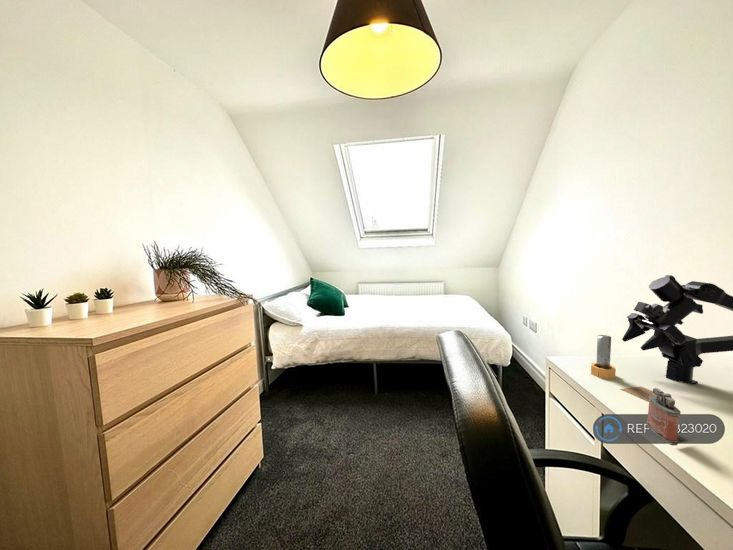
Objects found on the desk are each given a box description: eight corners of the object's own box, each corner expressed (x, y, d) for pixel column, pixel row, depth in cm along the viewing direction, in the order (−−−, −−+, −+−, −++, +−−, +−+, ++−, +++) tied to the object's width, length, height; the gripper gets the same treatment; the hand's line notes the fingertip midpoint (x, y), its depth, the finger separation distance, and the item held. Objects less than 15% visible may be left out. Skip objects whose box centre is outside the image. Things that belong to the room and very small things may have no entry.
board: (640, 388, 100) (641, 386, 100) (670, 401, 92) (670, 398, 92) (619, 391, 98) (619, 389, 98) (647, 404, 90) (647, 401, 90)
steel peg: (607, 373, 110) (609, 335, 109) (610, 377, 107) (612, 338, 105) (594, 372, 111) (596, 334, 110) (597, 376, 108) (599, 337, 107)
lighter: (682, 446, 72) (686, 402, 71) (664, 444, 73) (668, 400, 72) (658, 426, 80) (661, 386, 79) (641, 424, 80) (645, 385, 79)
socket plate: (601, 370, 114) (601, 360, 114) (626, 381, 106) (627, 370, 105) (579, 372, 112) (580, 362, 112) (603, 383, 104) (604, 372, 103)
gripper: (635, 289, 114) (598, 320, 116) (678, 298, 95) (632, 334, 98) (659, 313, 113) (621, 343, 116) (706, 326, 95) (660, 361, 98)
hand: (632, 344), depth 107 cm, fingers open, 9 cm apart
